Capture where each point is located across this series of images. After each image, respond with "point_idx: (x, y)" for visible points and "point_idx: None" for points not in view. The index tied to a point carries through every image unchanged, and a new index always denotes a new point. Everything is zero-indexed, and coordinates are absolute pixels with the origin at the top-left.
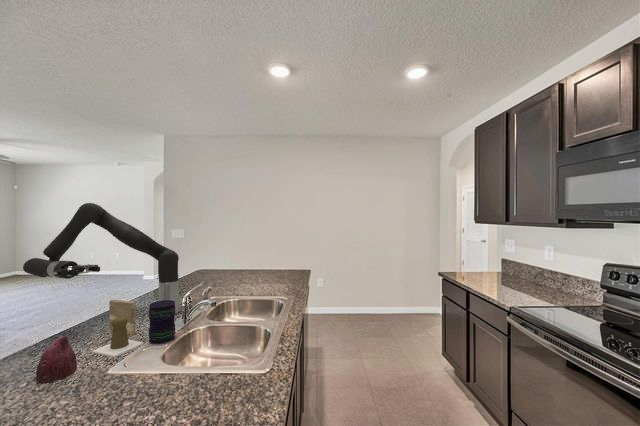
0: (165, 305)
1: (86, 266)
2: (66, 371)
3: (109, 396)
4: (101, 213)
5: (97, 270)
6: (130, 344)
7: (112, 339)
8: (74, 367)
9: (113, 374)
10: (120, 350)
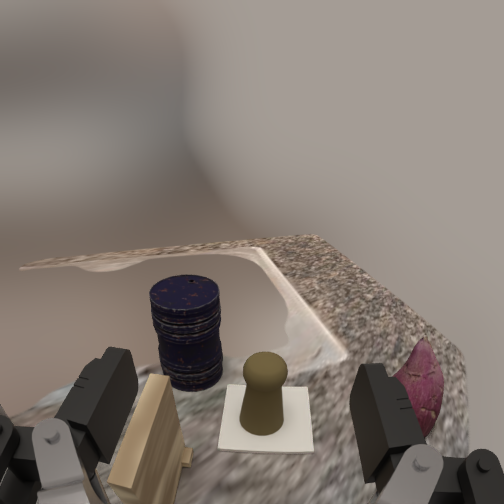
0: (198, 281)
1: (93, 498)
2: None
3: (375, 314)
4: None
5: (131, 386)
6: None
7: (282, 406)
8: None
9: (346, 345)
10: (282, 396)
